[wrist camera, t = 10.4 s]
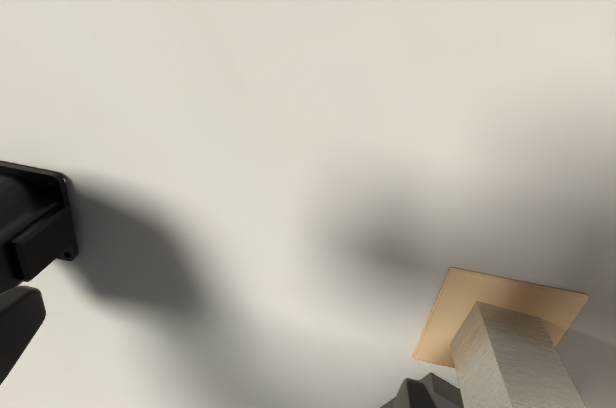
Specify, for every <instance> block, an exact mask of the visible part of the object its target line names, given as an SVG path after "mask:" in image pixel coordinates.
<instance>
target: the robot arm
mask: <svg viewBox="0 0 616 408" xmlns="http://www.w3.org/2000/svg"><path fill="white" fill-rule="evenodd" d="M53 180H54V181H55V182H54V181H53ZM77 256H78V249H77V244H76V239H75V233H74V228H73V223H72V218H71V213H70V208H69V203H68V198H67V192H66V187H65V182H64V179H63V178H62V176H61V175H59V174H58V173H55V172H50V171H45V170H40V169H35V168H30V167H25V166H20V165H15V164H10V163H4V162H0V385H1V383H2V382H3V381H4V379H5V378H6V377H7V375H8V374H9V372H10V371H11V370H12V368H13V367H14V365H15V364H16V362H17V361H18V359H19V358H20V356H21V355H22V353H23V352H24V350H25V349H26V347H27V346H28V344H29V343H30V341H31V340H32V338H33V336H34V335H35V333H36V332H37V330H38V329H39V327H40V326H41V324H42V323H43V321H44V319H45V316H46V310H45V306H44V302H43V299H42V295H41V292H40V290H38V289H37V288H33V287H29V286H18V285H20V284H21V283H22V282H23V281H25V282H29V281H31V280H32V279H33V278H34V277H35V276H37V275H38V274H39V273H40V272H41V271H42V270H43V269H44V268H46V267H47V266H48V265H49V264H50V263H51V262H52V261H53V260H55V259H56V258H58V259H62V260H67V261H72V260H74V259H75V258H76V257H77ZM17 286H18V287H17ZM394 408H437V406H436V404H435V403H434V401H433V399H432V397H431V395H430V393H429V391H428V390H427V388H426V386H425V384H424V383H423V382H421V381H419V380H415V379H410V378H406V379H404V381H403V383H402V385H401V387H400V389H399V391H398V393H397V396H396V398H395V401H394Z"/></svg>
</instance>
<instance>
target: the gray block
mask: <svg viewBox="0 0 616 408" xmlns="http://www.w3.org/2000/svg"><path fill="white" fill-rule="evenodd" d="M450 346H451V350H452V355H453V359H454V364H455V368H456V373H457V377H458V382H459V386H460V391H461V395H462V400H463V404H464V408H586V407H585V405H584V403H583V401H582V399H581V397H580V395H579V393H578V391H577V389H576V387H575V385H574V383H573V381H572V379H571V377H570V375H569V373H568V371H567V369H566V367H565V365H564V363H563V361H562V359H561V358H560V356H559V354H558V352H557V350H556V348H555V346H554V344H553V342H552V340H551V338H550V336H549V334H548V332H547V330H546V328H545V326H544V324H543V322H542V320H541V318H539V317H535V316H531V315H528V314H524V313H520V312H516V311H513V310H509V309H505V308H501V307H498V306H494V305H490V304H487V303H483V302H479V301H476V303H475V304H474V306H473V307H472V309H471V311H470V312H469V314H468V315H467V317H466V319H465V320H464V322H463V324H462V325H461V327H460V328H459V330H458V332H457V333H456V335H455V336H454V338H453V340H452V341H451V343H450Z"/></svg>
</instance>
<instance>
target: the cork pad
mask: <svg viewBox="0 0 616 408" xmlns="http://www.w3.org/2000/svg"><path fill="white" fill-rule="evenodd" d="M588 300H589V297H588V295H586V294H581V293H576V292H571V291H566V290H561V289H556V288H551V287H546V286H541V285H536V284H531V283H526V282H521V281H516V280H511V279H506V278H501V277H496V276H491V275H486V274H481V273H476V272H471V271H466V270H461V269H456V268H451V267H450V269H449V272H448V274H447V276H446V279H445V281H444V283H443V286H442V288H441V290H440V293H439V295H438V297H437V300H436V302H435V304H434V307H433V309H432V311H431V314H430V316H429V318H428V321H427V323H426V325H425V328H424V330H423V332H422V335H421V337H420V339H419V342H418V344H417V347H416V349H415V351H414V354H413V359H415V360H420V361H425V362H429V363H434V364H439V365H443V366H448V367H453V368H455V364H454V359H453V355H452V350H451V346H450V343H451V341H452V340H453V338H454V336H455V335H456V333H457V332H458V330H459V328H460V327H461V325H462V324H463V322H464V320H465V319H466V317H467V315H468V314H469V312H470V311H471V309H472V307H473V306H474V304H475V303H476V301H479V302H483V303H487V304H490V305H494V306H498V307H501V308H505V309H509V310H513V311H516V312H520V313H524V314H528V315H531V316H535V317H539V318H541V320H542V322H543V324H544V326H545V328H546V330H547V332H548V334H549V336H550V338H551V340H552V342H553V344H554V346H555V347H556V345H557V344H558V343H559V341H560V340H561V338H562V337H563V335H564V334H565V333H566V331H567V330H568V328H569V327H570V325H571V324H572V323H573V321H574V320H575V318H576V317H577V315H578V314H579V313H580V311H581V310H582V308H583V307H584V305H585V304H586V303H587V301H588Z"/></svg>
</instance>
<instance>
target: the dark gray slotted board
mask: <svg viewBox="0 0 616 408" xmlns="http://www.w3.org/2000/svg"><path fill="white" fill-rule="evenodd" d="M420 381H421V382H423V383H424V384H425V386H426V388H427V390H428V391H429V393H430V395H431V397H432V399H433V401H434V403H435V404H436V406H437V408H464V404H463V400H462V395H461V391H460V390H459V389H457V388H455V387H454V386H452V385H450V384H449V383H447V382H445V381H444V380H442V379H440V378H439V377H437V376H435V375H433V374H432V373H430V374H428V375H427V376H425V377H424V378H423V379H421V380H420ZM395 398H396V397H395ZM395 398H394V399H392V400H391V401H389V402H388V403H387V404H385V405H384V406H382V407H381V408H394V401H395Z"/></svg>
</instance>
